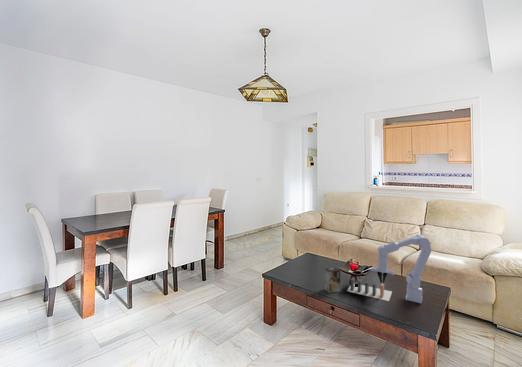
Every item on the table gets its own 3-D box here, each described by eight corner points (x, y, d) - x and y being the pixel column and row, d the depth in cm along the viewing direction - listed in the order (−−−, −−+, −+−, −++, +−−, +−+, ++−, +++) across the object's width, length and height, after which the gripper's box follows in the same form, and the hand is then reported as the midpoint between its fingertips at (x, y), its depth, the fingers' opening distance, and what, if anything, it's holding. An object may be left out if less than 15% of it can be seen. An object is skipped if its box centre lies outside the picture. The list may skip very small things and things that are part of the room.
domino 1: (354, 288, 202) (354, 277, 201) (352, 290, 197) (352, 280, 197) (352, 287, 202) (352, 277, 202) (350, 290, 198) (350, 279, 198)
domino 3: (368, 291, 196) (369, 280, 196) (367, 294, 192) (367, 283, 191) (366, 290, 197) (366, 280, 197) (365, 293, 193) (365, 282, 192)
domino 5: (383, 294, 191) (384, 283, 190) (382, 297, 187) (382, 286, 186) (381, 294, 192) (381, 283, 191) (380, 297, 188) (380, 285, 187)
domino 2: (361, 289, 199) (361, 279, 198) (360, 292, 195) (360, 281, 194) (359, 289, 200) (359, 278, 199) (357, 292, 196) (357, 281, 195)
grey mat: (392, 292, 196) (392, 291, 196) (388, 301, 182) (388, 301, 182) (352, 283, 211) (352, 282, 211) (346, 291, 197) (346, 290, 197)
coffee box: (335, 288, 203) (336, 267, 202) (340, 291, 197) (340, 270, 196) (324, 289, 201) (324, 268, 200) (329, 293, 195) (329, 271, 194)
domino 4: (376, 293, 193) (376, 282, 193) (374, 296, 189) (375, 284, 189) (373, 292, 194) (374, 281, 194) (372, 295, 190) (372, 284, 190)
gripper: (395, 263, 187) (394, 283, 188) (372, 260, 195) (372, 278, 196) (393, 267, 181) (393, 287, 182) (370, 263, 189) (370, 282, 190)
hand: (382, 282), depth 188 cm, fingers closed
